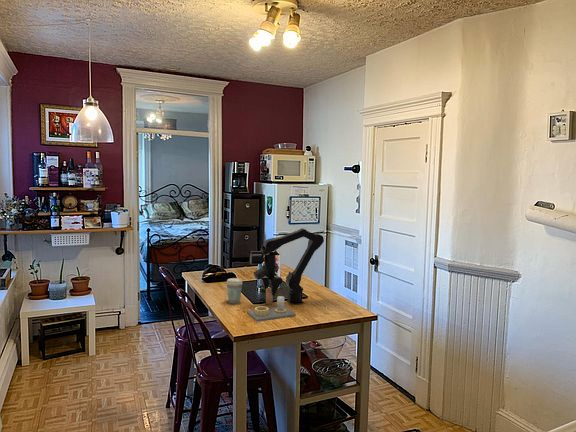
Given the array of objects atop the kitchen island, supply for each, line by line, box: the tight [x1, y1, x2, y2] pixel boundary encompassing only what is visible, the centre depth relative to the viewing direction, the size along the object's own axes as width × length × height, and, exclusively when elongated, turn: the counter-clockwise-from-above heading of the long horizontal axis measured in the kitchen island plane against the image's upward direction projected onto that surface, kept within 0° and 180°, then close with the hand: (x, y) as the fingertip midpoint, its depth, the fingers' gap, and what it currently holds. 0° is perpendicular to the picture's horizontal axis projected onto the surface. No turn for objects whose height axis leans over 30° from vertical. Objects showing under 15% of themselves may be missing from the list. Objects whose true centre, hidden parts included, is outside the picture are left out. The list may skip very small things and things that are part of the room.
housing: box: [246, 295, 297, 323], centre depth 209 cm, size 20×13×8 cm, turn 116°
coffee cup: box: [225, 277, 243, 305], centre depth 226 cm, size 8×9×12 cm
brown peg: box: [265, 287, 274, 306], centre depth 226 cm, size 4×4×8 cm
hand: (269, 293), depth 226 cm, fingers open, 9 cm apart
